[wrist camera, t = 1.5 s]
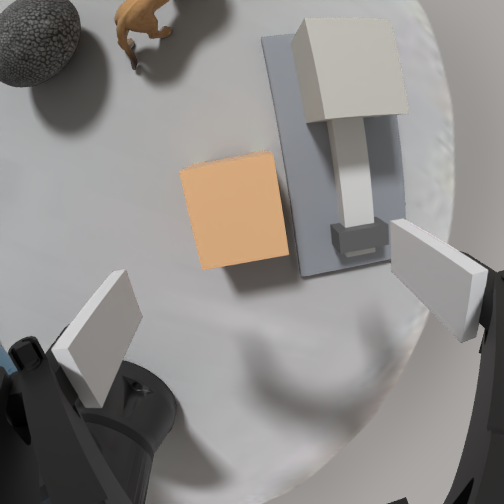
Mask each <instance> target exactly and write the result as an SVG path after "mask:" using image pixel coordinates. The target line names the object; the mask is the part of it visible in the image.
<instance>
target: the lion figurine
mask: <svg viewBox="0 0 504 504" xmlns="http://www.w3.org/2000/svg"><path fill="white" fill-rule="evenodd" d="M168 1H169V0H126V1H125V2H124V3H123V4H122V5H121V6H120V7H119V8H118V10H117V13H116V15H115V18H114V19H115V24H116V25H117V37H118V44H119V45H120V47H121V48H122V49H123V50H125V51H126V52H127V54H128V56H129V57H130V59H131V65H132V69H133V70H135V69H136V66H137V59H136V57H135V55H134V53H133V52H132V50H131V48H132V47H133V45H134V41H133V40H132V39H131V38H130V39H127V35H128V32H129V30H131V31H135V32H140V33H147V34H148V35H149V38H151V39H154V38H165V37H167V36H169V35H170V34H171V33H172V29H171V28H170V27H167V26H164V27H162V28H161V29H160V30H159V31H158V20H157V18H156V17H155V15H154V12H155V11H156V10H157V9H158V8H160V7H161V6H163V5H164V4H166V3H167V2H168Z"/></svg>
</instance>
